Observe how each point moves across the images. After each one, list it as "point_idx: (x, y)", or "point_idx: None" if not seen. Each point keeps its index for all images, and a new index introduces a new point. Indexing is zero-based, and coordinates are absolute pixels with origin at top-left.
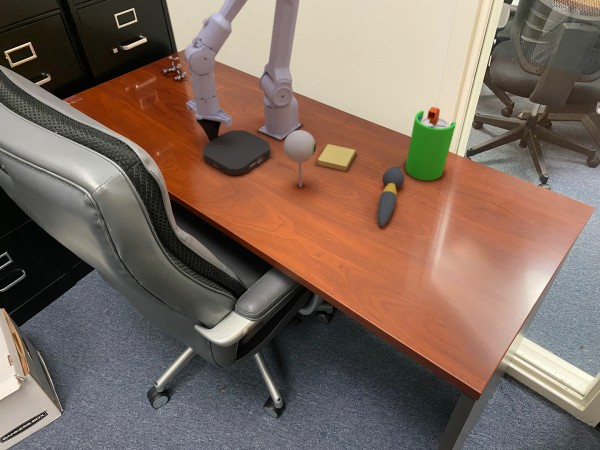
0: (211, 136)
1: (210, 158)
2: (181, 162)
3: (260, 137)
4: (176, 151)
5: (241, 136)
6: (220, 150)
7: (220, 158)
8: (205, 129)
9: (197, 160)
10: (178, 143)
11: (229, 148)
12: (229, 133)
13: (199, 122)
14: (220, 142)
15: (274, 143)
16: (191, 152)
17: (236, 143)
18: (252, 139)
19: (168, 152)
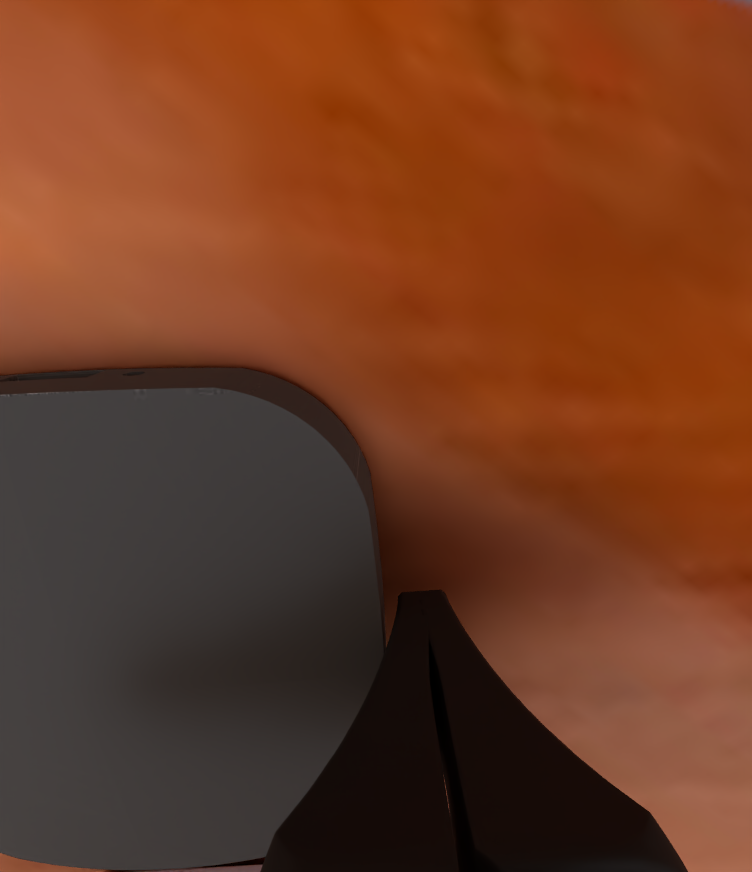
0: (385, 655)
1: (85, 390)
2: (450, 178)
3: (92, 868)
4: (659, 278)
5: (209, 802)
6: (127, 557)
7: None
8: (459, 716)
9: (343, 331)
10: (744, 387)
11: (84, 636)
12: None
13: (557, 835)
14: (266, 643)
15: None
16: (505, 378)
17: (123, 722)
18: (98, 825)
19: (731, 197)
